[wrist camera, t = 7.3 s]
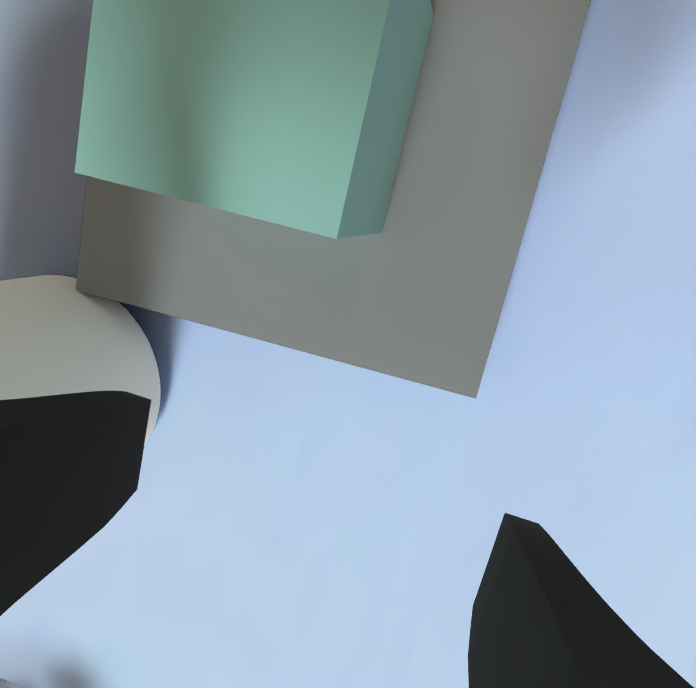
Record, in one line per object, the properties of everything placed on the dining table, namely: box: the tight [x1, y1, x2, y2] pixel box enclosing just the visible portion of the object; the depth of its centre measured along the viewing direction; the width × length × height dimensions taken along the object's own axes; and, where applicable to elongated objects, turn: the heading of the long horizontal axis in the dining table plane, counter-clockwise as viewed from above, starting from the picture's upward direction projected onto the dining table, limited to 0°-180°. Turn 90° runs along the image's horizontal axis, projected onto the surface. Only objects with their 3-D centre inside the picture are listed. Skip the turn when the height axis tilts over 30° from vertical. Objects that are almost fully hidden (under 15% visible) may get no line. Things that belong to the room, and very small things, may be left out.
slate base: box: [76, 0, 591, 398], centre depth 18 cm, size 14×14×2 cm
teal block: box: [74, 0, 434, 239], centre depth 14 cm, size 6×6×6 cm
